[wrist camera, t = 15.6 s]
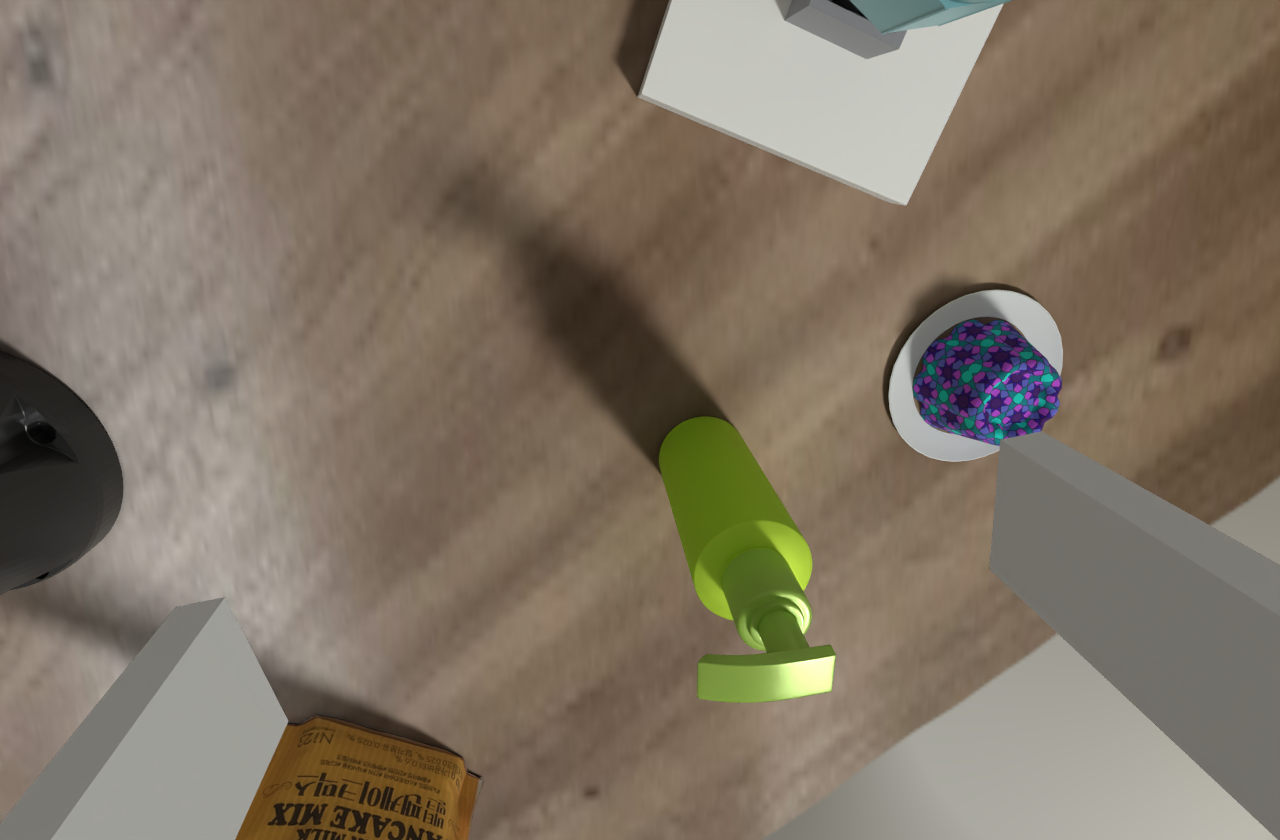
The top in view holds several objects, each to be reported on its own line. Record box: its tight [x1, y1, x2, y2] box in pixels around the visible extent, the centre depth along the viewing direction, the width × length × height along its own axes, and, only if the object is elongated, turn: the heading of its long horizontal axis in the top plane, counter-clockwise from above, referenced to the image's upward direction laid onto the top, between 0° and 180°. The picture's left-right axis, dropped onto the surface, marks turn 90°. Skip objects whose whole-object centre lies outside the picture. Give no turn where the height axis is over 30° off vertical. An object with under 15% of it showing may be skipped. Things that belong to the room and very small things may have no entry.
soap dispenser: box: [659, 416, 836, 703], centre depth 34 cm, size 6×7×20 cm
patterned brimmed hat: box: [888, 290, 1063, 462], centre depth 41 cm, size 12×12×5 cm
